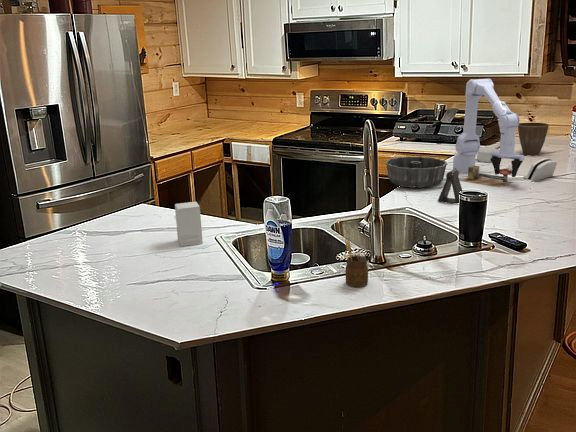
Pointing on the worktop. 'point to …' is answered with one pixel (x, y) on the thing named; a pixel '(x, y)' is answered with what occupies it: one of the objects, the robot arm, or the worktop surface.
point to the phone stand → (455, 184)
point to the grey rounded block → (541, 169)
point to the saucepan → (486, 154)
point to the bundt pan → (416, 171)
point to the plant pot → (532, 137)
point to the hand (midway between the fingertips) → (505, 175)
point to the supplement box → (188, 223)
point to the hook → (501, 171)
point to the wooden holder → (473, 173)
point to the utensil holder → (356, 269)
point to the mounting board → (488, 182)
